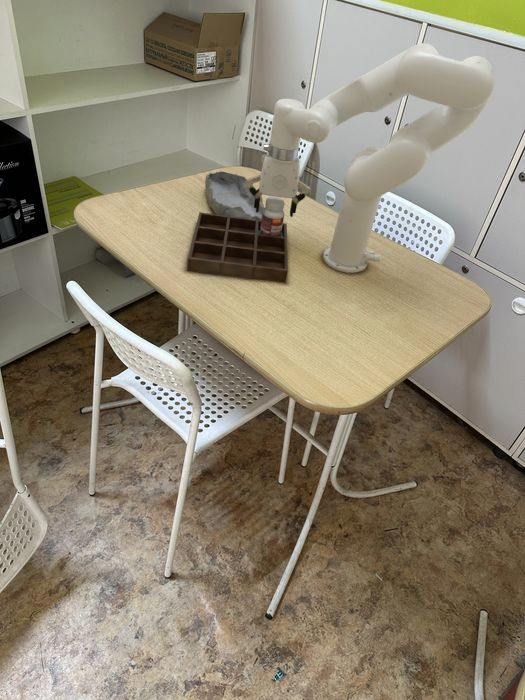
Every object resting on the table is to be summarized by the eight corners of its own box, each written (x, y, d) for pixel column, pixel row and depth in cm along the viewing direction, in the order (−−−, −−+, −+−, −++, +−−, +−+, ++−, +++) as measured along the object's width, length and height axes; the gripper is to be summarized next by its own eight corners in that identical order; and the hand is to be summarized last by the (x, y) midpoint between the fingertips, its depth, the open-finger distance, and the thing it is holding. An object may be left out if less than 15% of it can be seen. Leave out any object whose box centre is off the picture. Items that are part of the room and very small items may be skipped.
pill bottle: (271, 245, 148) (277, 208, 140) (254, 236, 150) (259, 199, 143) (284, 238, 152) (290, 202, 144) (268, 230, 154) (273, 194, 147)
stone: (267, 232, 159) (227, 184, 176) (274, 207, 153) (232, 160, 171) (226, 235, 152) (188, 185, 170) (232, 209, 147) (192, 160, 164)
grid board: (284, 234, 155) (286, 223, 153) (285, 283, 136) (287, 270, 133) (198, 223, 154) (199, 212, 151) (187, 271, 134) (187, 258, 132)
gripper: (249, 152, 131) (242, 215, 142) (317, 161, 132) (305, 222, 143) (250, 142, 137) (244, 202, 148) (315, 151, 138) (304, 210, 149)
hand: (274, 212), depth 146 cm, fingers open, 9 cm apart
